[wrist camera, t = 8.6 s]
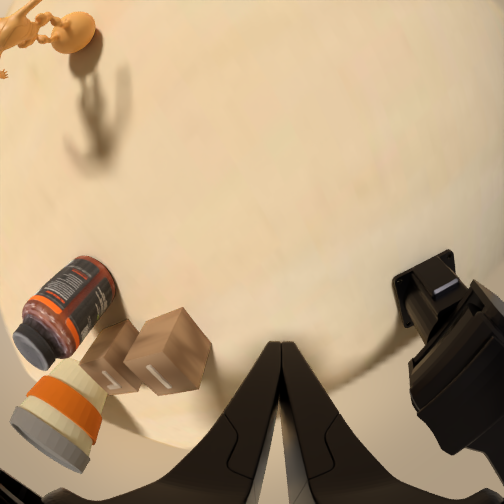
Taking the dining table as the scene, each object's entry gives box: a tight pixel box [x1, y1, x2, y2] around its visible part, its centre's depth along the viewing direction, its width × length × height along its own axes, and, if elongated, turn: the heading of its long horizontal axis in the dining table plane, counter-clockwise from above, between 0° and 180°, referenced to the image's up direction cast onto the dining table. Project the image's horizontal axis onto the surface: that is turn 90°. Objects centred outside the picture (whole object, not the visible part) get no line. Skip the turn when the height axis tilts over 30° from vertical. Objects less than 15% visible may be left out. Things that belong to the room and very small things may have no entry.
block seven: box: [78, 319, 143, 395], centre depth 25 cm, size 5×5×6 cm
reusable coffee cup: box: [10, 358, 108, 474], centre depth 27 cm, size 13×12×15 cm
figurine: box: [0, 0, 95, 79], centre depth 9 cm, size 8×6×12 cm
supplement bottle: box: [13, 256, 115, 371], centre depth 19 cm, size 6×6×11 cm
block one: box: [123, 307, 212, 396], centre depth 24 cm, size 5×5×6 cm
